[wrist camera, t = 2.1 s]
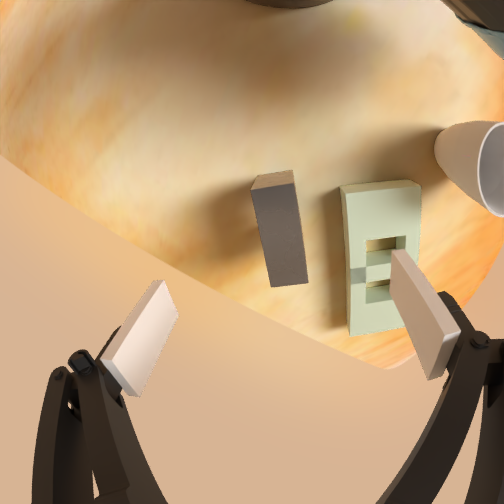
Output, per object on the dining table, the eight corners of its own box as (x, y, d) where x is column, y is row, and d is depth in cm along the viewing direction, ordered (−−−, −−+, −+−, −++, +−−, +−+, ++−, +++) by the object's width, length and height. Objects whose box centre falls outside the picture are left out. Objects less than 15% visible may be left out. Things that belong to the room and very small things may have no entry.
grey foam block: (261, 167, 26) (250, 189, 18) (291, 163, 26) (294, 182, 18) (275, 239, 30) (271, 287, 22) (303, 236, 29) (308, 283, 21)
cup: (446, 199, 24) (497, 235, 16) (409, 144, 23) (462, 160, 14) (484, 157, 21) (539, 180, 12) (451, 101, 19) (509, 104, 10)
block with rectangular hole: (339, 186, 26) (345, 193, 23) (409, 179, 24) (421, 186, 22) (346, 321, 34) (349, 336, 31) (401, 311, 32) (408, 326, 29)
